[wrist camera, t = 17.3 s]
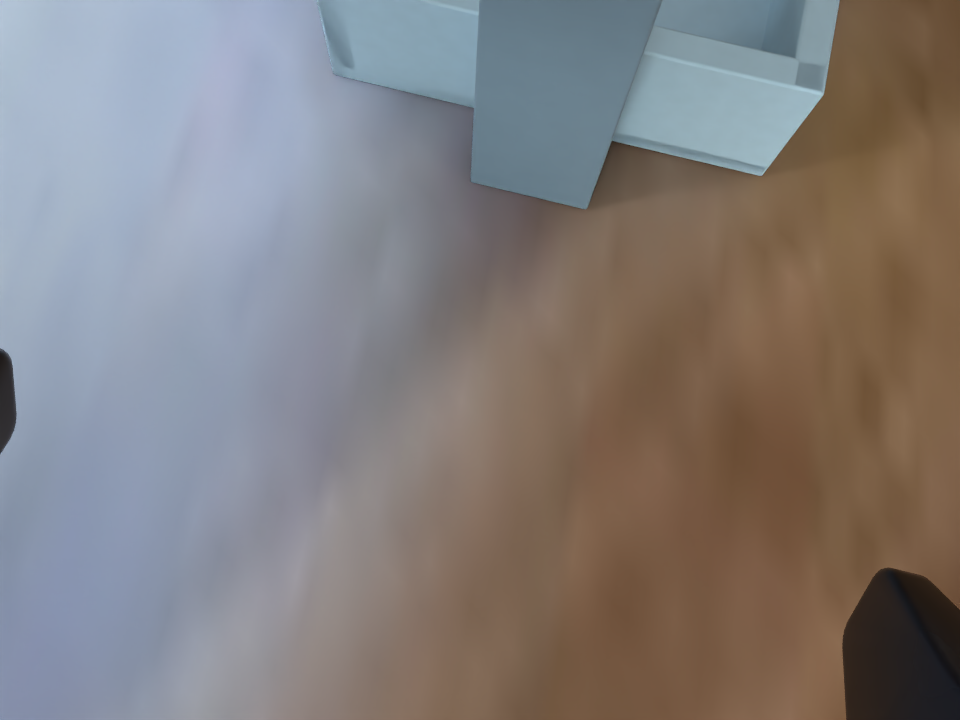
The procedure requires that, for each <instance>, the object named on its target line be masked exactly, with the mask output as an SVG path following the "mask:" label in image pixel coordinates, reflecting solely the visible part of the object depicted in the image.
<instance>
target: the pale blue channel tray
mask: <svg viewBox="0 0 960 720" xmlns="http://www.w3.org/2000/svg"><path fill="white" fill-rule="evenodd" d="M839 1H840V0H317V5H318V9H319V13H320V18H321V22H322V26H323V31H324V35H325V39H326V44H327V48H328V52H329V57H330V61H331V66H332V70H333V74H335V75H338V76H342V77H346V78H350V79H354V80H359V81H363V82H367V83H371V84H375V85H380V86H384V87H388V88H392V89H396V90H401V91H405V92H409V93H413V94H418V95H422V96H426V97H430V98H434V99H439V100H443V101H447V102H451V103H455V104H460V105H464V106H468V107H472V108H474V119H473V139H472V160H471V182H473V183H477V184H482V185H486V186H490V187H494V188H498V189H502V190H507V191H511V192H515V193H519V194H523V195H527V196H532V197H536V198H540V199H544V200H548V201H552V202H557V203H561V204H565V205H569V206H573V207H577V208H582V209H587V208H588V205H589V202H590V200H591V197H592V194H593V191H594V189H595V186H596V183H597V180H598V177H599V175H600V172H601V169H602V166H603V164H604V161H605V158H606V155H607V153H608V150H609V147H610V144H611V142H612V141H615V142H619V143H624V144H628V145H632V146H636V147H641V148H645V149H649V150H653V151H657V152H662V153H666V154H670V155H674V156H678V157H683V158H687V159H691V160H695V161H699V162H704V163H708V164H712V165H716V166H720V167H725V168H729V169H733V170H737V171H742V172H746V173H750V174H754V175H758V176H762V175H763V174H764V173H765V171H766V170H767V169H768V167H769V166H770V165H771V163H772V162H773V161H774V159H775V158H776V157H777V155H778V154H779V153H780V151H781V150H782V149H783V148H784V146H785V145H786V144H787V142H788V141H789V140H790V138H791V137H792V136H793V134H794V133H795V132H796V130H797V129H798V128H799V126H800V125H801V124H802V123H803V121H804V120H805V119H806V117H807V116H808V115H809V113H810V112H811V111H812V109H813V108H814V107H815V105H816V104H817V103H818V101H819V100H820V99H821V98H822V96H823V95H824V91H825V85H826V79H827V74H828V66H829V60H830V54H831V49H832V43H833V37H834V31H835V25H836V19H837V13H838V7H839Z"/></svg>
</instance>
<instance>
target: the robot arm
mask: <svg viewBox="0 0 960 720" xmlns="http://www.w3.org/2000/svg"><path fill="white" fill-rule="evenodd" d="M15 424H16V402H15V391H14V379H13V368H12V361H11V358H10V356H9V355H8V353H7V352H5V351H4V350H3V349H0V454H1V452H2V451H3V449H4V448H5V446H6V444H7V443H8V441H9V440H10V438H11V436H12V434H13V431H14V428H15ZM843 666H844V684H845V702H846V720H960V610H959V609H958V608H957V607H956V606H955V605H954V604H953V603H952V602H951V601H950V600H949V599H948V598H947V597H946V596H945V595H944V594H943V593H942V592H941V591H940V590H939V589H938V588H937V587H936V586H935V585H934V584H933V583H932V582H931V581H929V580H928V579H927V578H925V577H923V576H921V575H918V574H914V573H909V572H905V571H901V570H897V569H893V568H884V569H881V570H880V571H878V572H877V573H876V574H875V576H874V577H873V578H872V580H871V582H870V584H869V585H868V587H867V589H866V591H865V592H864V594H863V596H862V598H861V599H860V601H859V603H858V604H857V606H856V608H855V610H854V611H853V613H852V615H851V617H850V618H849V620H848V622H847V624H846V627H845V630H844V635H843Z"/></svg>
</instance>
